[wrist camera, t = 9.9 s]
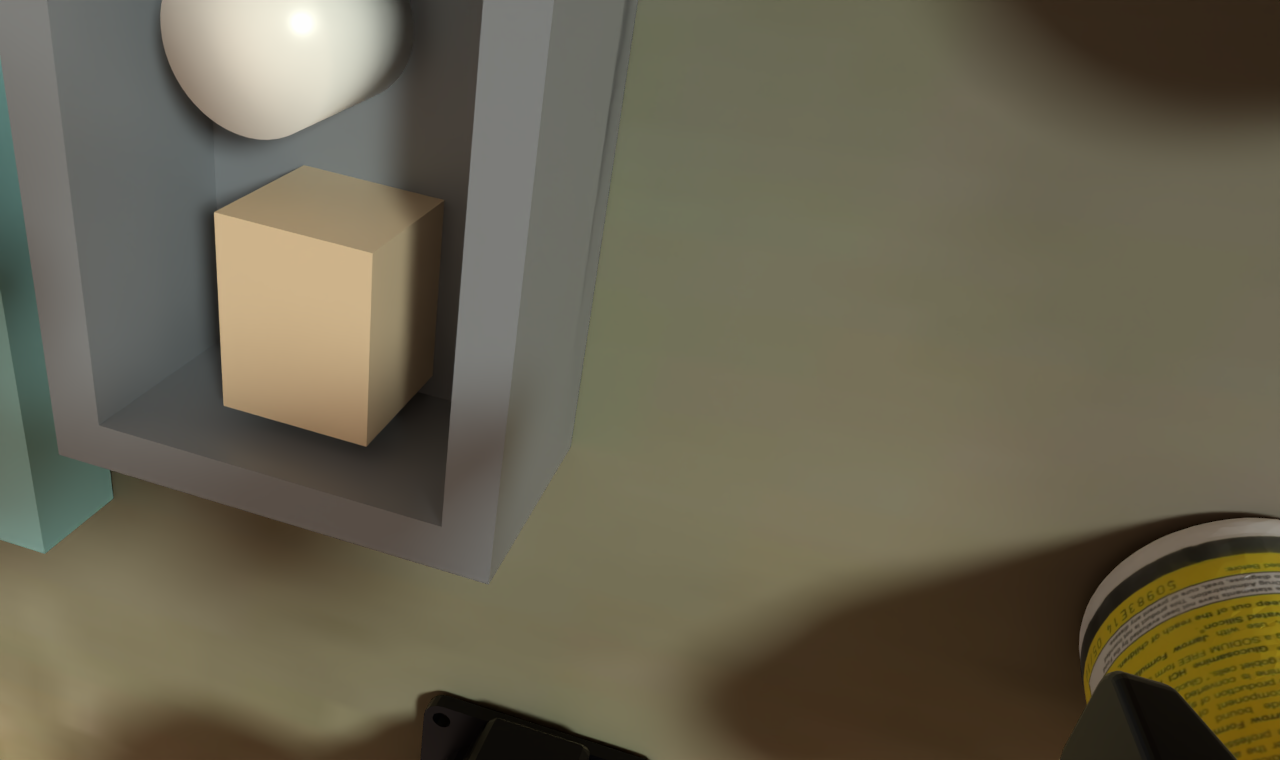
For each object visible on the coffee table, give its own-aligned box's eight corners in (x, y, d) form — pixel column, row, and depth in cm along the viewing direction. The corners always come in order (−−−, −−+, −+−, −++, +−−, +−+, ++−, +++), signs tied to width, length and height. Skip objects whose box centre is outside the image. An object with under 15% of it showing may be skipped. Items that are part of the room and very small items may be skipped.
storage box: (570, 446, 23) (488, 584, 19) (211, 346, 25) (58, 454, 20) (659, -140, 17) (568, -133, 13) (180, -233, 19) (-46, -254, 14)
